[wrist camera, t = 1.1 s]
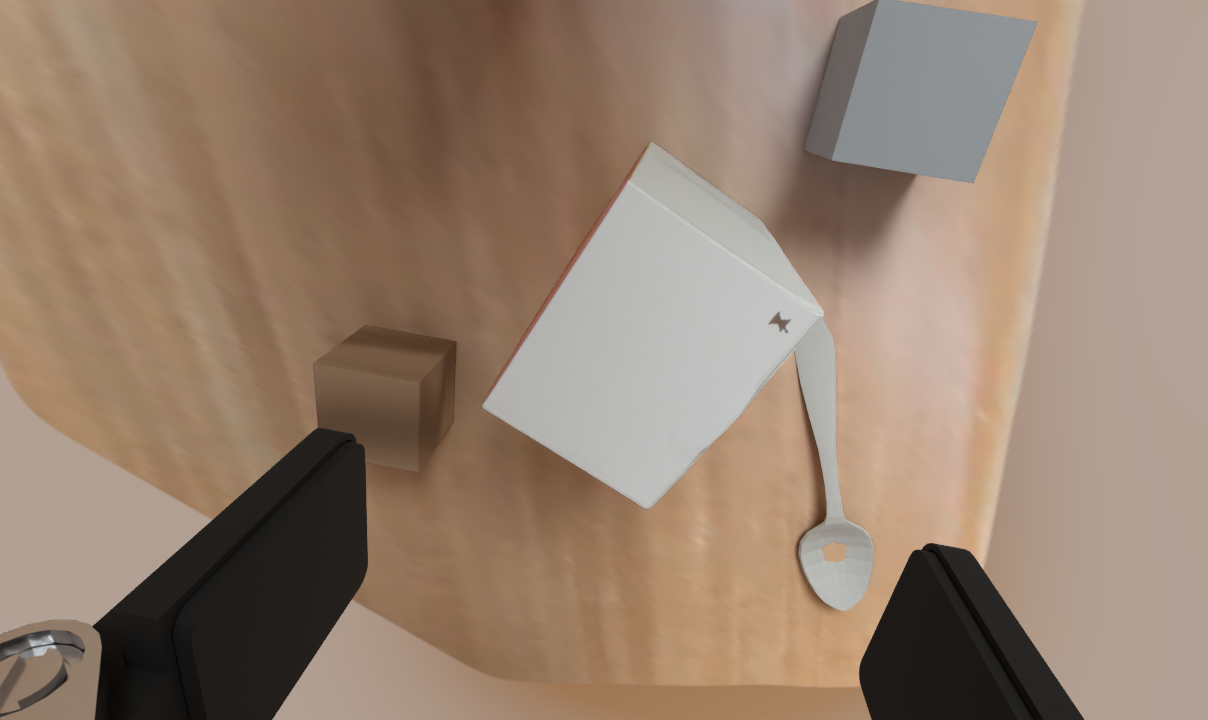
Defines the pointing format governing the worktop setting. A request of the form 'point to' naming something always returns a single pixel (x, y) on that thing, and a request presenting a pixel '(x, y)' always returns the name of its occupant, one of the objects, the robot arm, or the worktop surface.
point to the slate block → (916, 88)
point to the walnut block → (388, 394)
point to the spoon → (830, 484)
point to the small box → (655, 332)
